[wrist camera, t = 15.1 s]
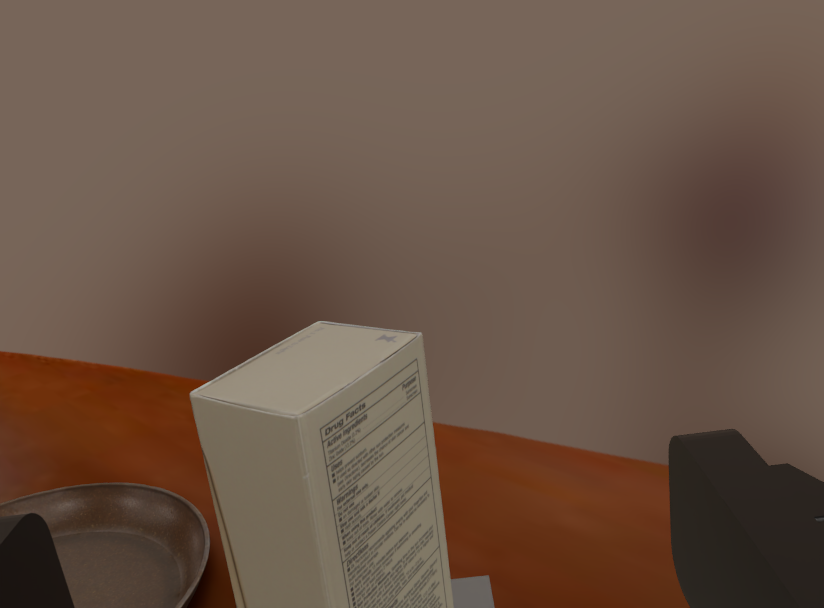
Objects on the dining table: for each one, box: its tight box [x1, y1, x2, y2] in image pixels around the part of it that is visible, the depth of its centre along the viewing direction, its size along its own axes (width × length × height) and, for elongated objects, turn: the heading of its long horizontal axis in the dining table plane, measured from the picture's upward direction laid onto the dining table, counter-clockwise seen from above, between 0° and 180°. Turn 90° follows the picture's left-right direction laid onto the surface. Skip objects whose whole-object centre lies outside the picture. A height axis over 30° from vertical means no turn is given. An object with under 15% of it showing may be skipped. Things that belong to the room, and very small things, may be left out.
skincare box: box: [190, 321, 454, 608], centre depth 25 cm, size 6×4×12 cm
